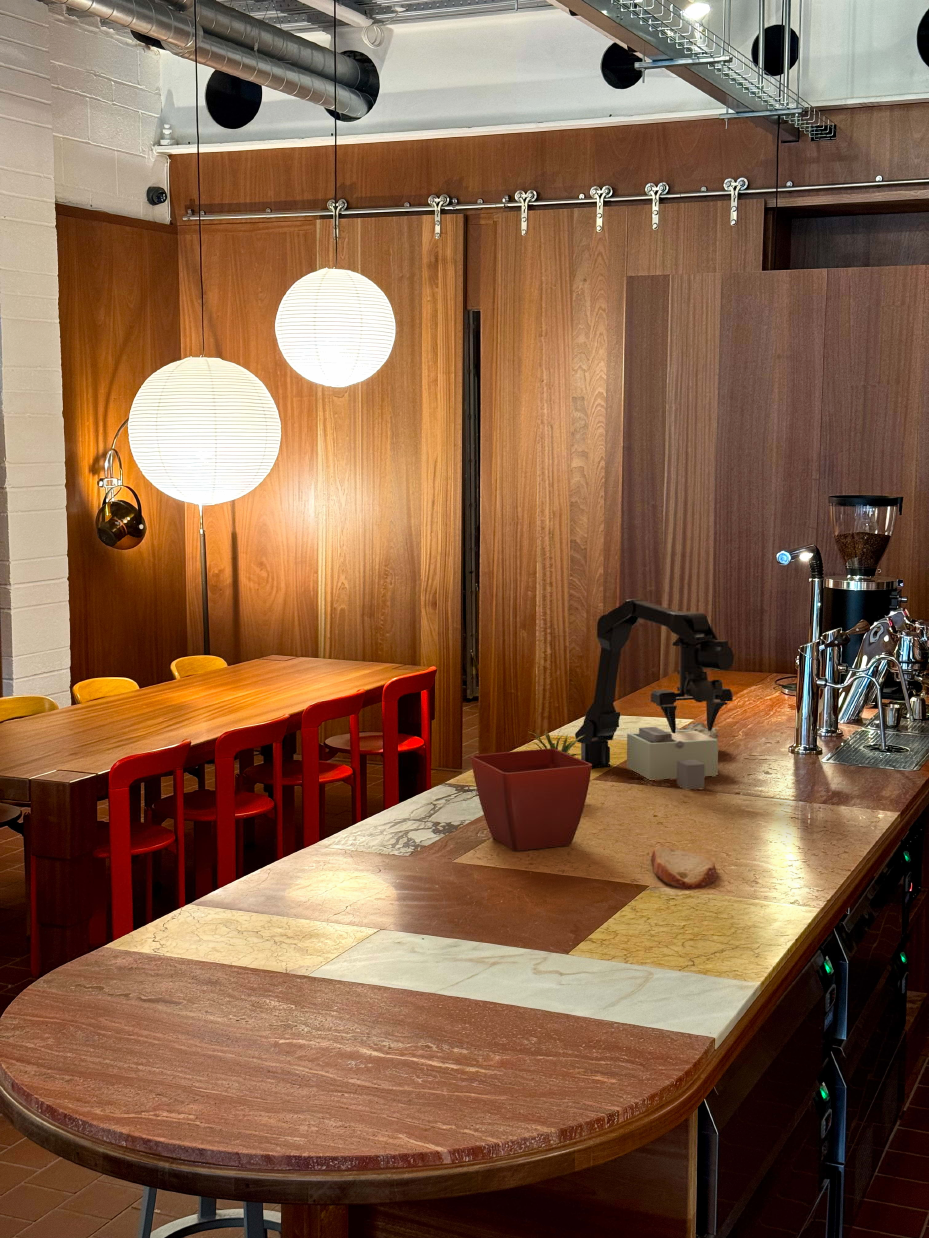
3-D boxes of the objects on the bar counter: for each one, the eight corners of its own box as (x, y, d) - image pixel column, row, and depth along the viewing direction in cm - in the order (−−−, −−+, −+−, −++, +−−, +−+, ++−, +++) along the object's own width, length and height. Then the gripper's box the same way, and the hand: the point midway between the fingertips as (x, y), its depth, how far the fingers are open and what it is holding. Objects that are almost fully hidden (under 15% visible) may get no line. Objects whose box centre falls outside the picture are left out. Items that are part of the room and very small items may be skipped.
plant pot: (469, 834, 279) (468, 754, 277) (554, 825, 286) (553, 747, 284) (504, 858, 261) (504, 773, 260) (593, 848, 268) (594, 764, 266)
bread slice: (662, 854, 265) (662, 836, 264) (744, 871, 253) (744, 852, 252) (610, 875, 251) (610, 856, 251) (694, 894, 239) (694, 874, 239)
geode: (674, 778, 352) (730, 768, 352) (670, 749, 348) (727, 738, 348) (659, 744, 367) (713, 733, 367) (656, 715, 363) (710, 704, 363)
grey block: (686, 790, 317) (686, 765, 316) (676, 785, 322) (677, 760, 321) (704, 789, 318) (704, 764, 317) (694, 784, 323) (694, 759, 323)
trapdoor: (656, 753, 328) (656, 735, 327) (637, 744, 339) (637, 727, 339) (715, 749, 332) (715, 732, 331) (695, 740, 343) (695, 723, 343)
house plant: (509, 800, 308) (509, 730, 306) (535, 788, 320) (535, 720, 318) (567, 807, 301) (567, 735, 299) (591, 794, 313) (591, 725, 311)
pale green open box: (650, 781, 326) (650, 743, 325) (626, 768, 341) (626, 731, 340) (718, 776, 331) (719, 738, 330) (691, 763, 346) (692, 727, 345)
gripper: (669, 672, 307) (669, 740, 309) (744, 668, 312) (743, 735, 314) (649, 666, 318) (649, 732, 319) (722, 662, 323) (721, 727, 324)
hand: (691, 731), depth 319 cm, fingers open, 9 cm apart
